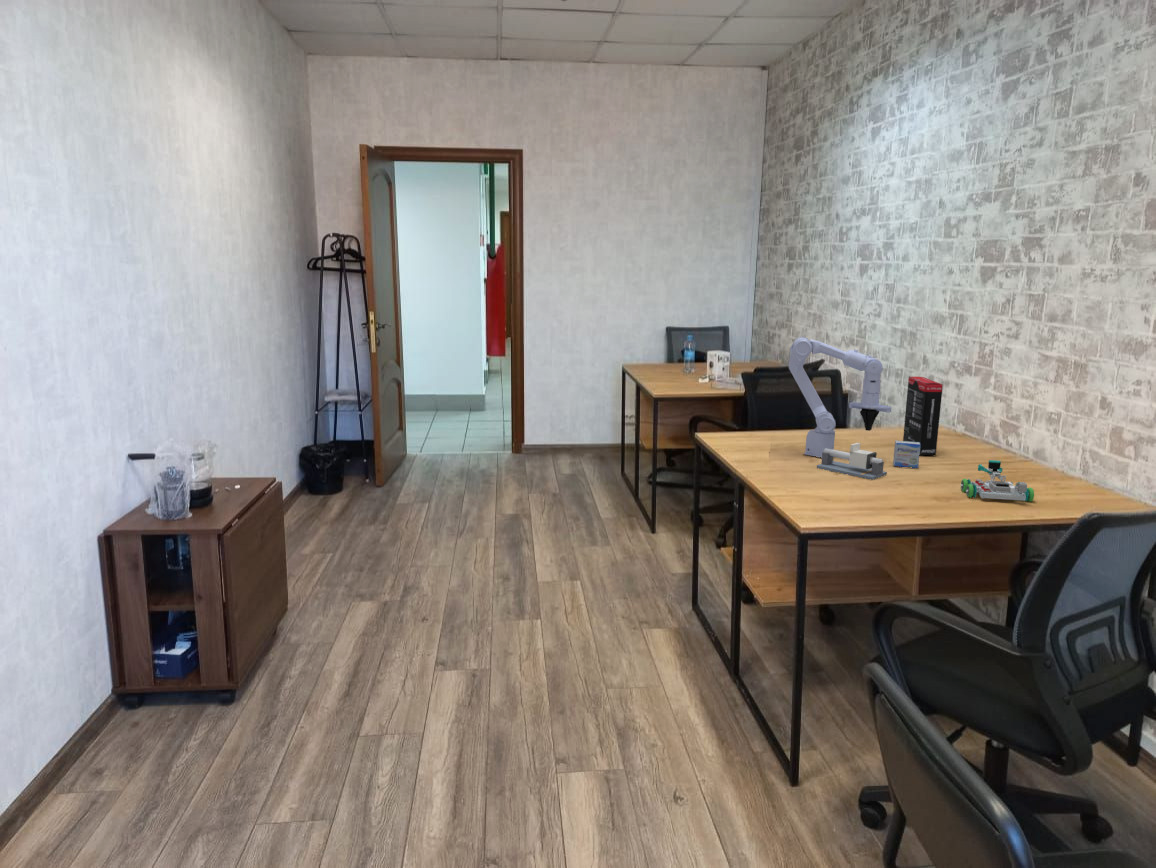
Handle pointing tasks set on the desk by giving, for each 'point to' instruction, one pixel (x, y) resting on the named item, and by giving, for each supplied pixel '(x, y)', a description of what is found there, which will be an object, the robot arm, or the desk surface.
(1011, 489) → the robot kit
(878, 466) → the pipe stand
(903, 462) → the medicine box
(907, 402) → the graphics card box
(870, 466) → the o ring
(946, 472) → the desk surface
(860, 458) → the sleeve
